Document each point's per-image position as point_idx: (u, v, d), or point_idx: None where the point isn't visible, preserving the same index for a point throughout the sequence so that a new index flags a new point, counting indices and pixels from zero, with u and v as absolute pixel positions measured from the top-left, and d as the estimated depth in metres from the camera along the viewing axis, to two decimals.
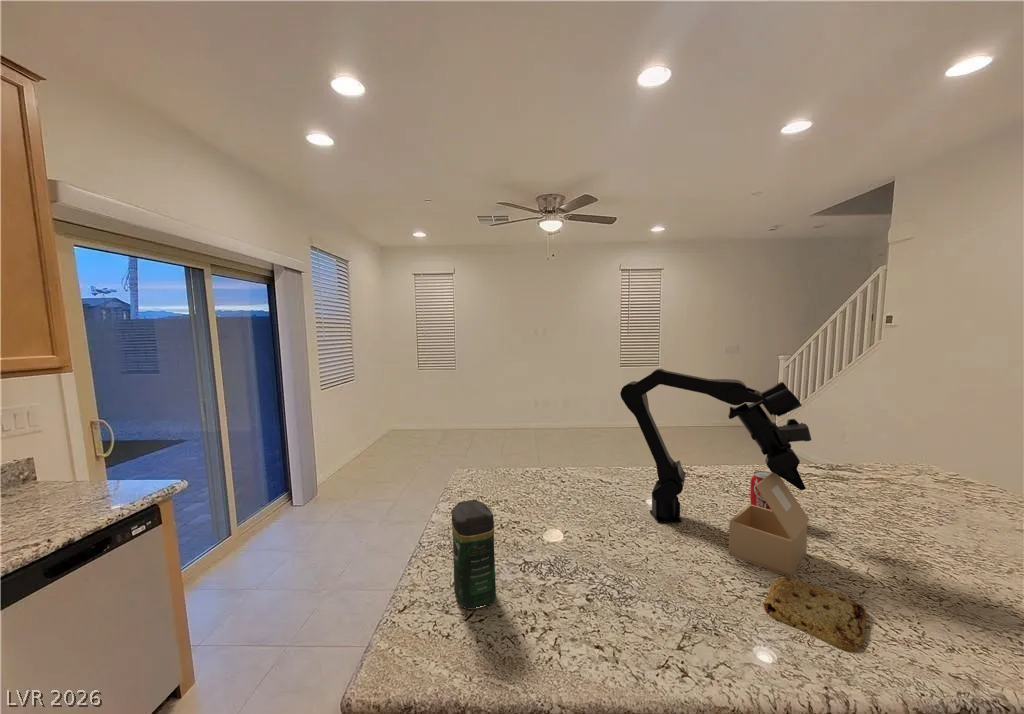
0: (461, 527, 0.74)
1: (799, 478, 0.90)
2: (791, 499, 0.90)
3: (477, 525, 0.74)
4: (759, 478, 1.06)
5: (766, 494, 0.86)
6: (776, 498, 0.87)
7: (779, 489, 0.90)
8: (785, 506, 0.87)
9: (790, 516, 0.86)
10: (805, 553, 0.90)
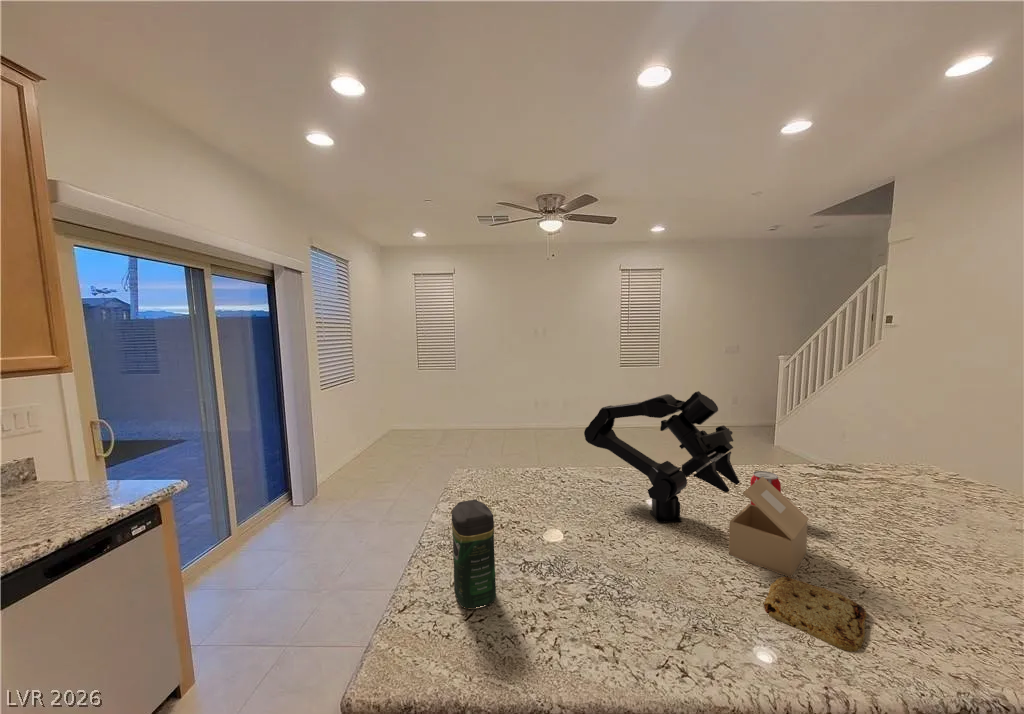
0: (461, 527, 0.74)
1: (719, 480, 0.94)
2: (784, 501, 0.91)
3: (477, 525, 0.74)
4: (759, 478, 1.06)
5: (755, 499, 0.87)
6: (767, 502, 0.88)
7: (769, 493, 0.91)
8: (778, 508, 0.88)
9: (786, 517, 0.86)
10: (805, 553, 0.90)
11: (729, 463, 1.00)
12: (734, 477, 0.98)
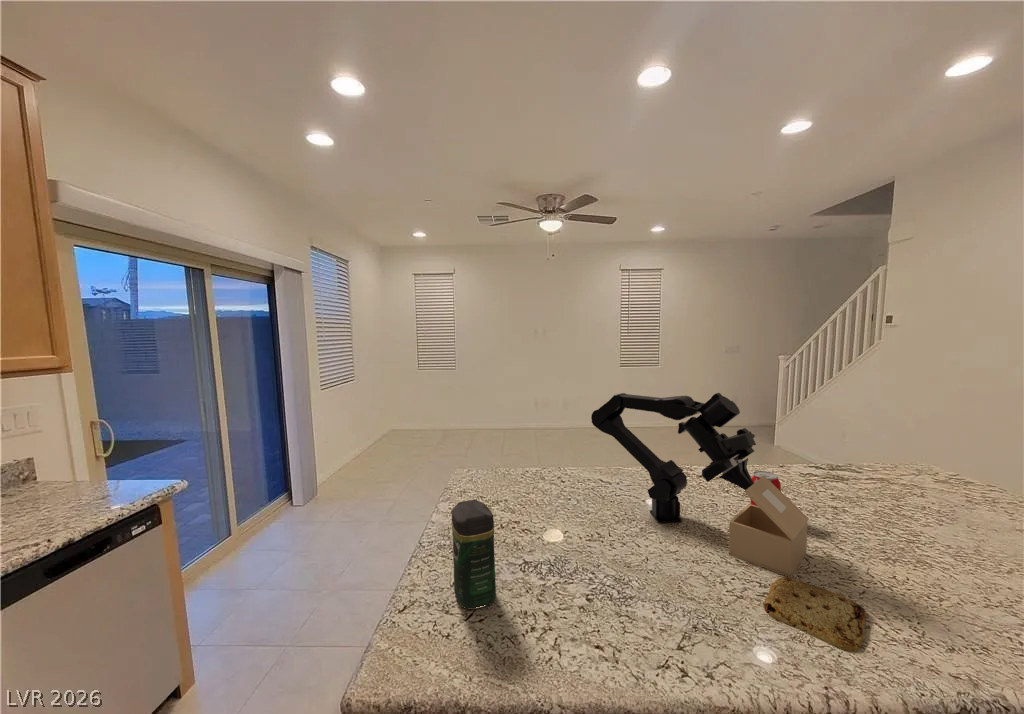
0: (461, 527, 0.74)
1: (747, 481, 0.92)
2: (785, 501, 0.91)
3: (477, 525, 0.74)
4: (759, 478, 1.06)
5: (756, 498, 0.87)
6: (768, 501, 0.88)
7: (770, 492, 0.91)
8: (779, 508, 0.88)
9: (786, 517, 0.86)
10: (805, 553, 0.90)
11: (746, 471, 0.94)
12: None
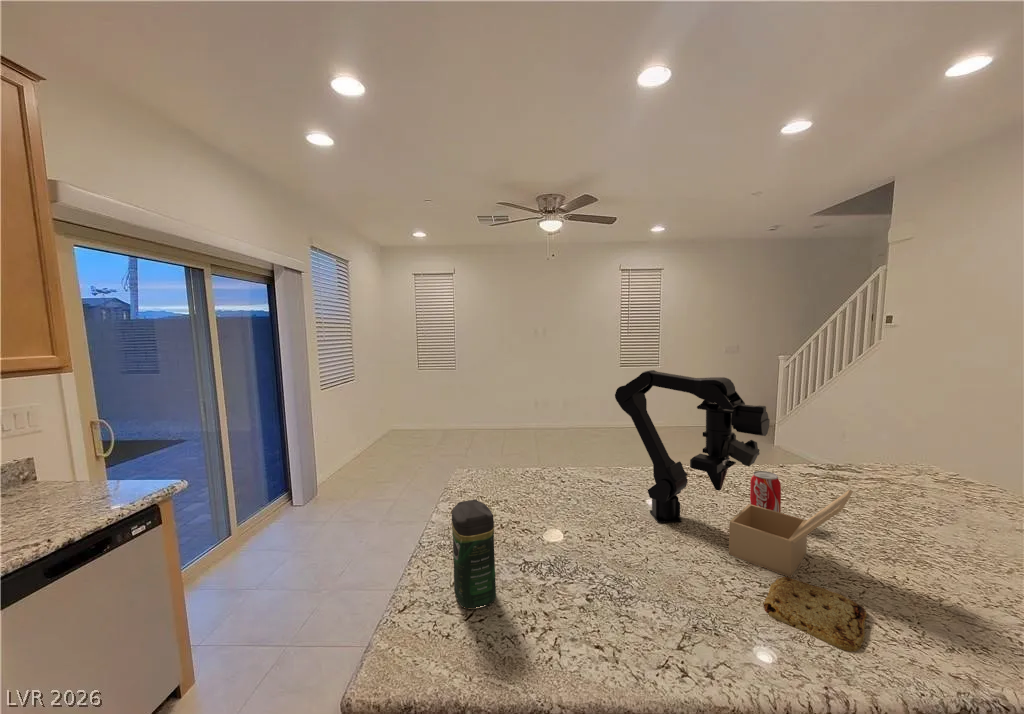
0: (461, 527, 0.74)
1: (719, 480, 0.97)
2: None
3: (477, 525, 0.74)
4: (759, 478, 1.06)
5: None
6: None
7: None
8: None
9: None
10: (805, 553, 0.90)
11: (726, 471, 0.98)
12: None
